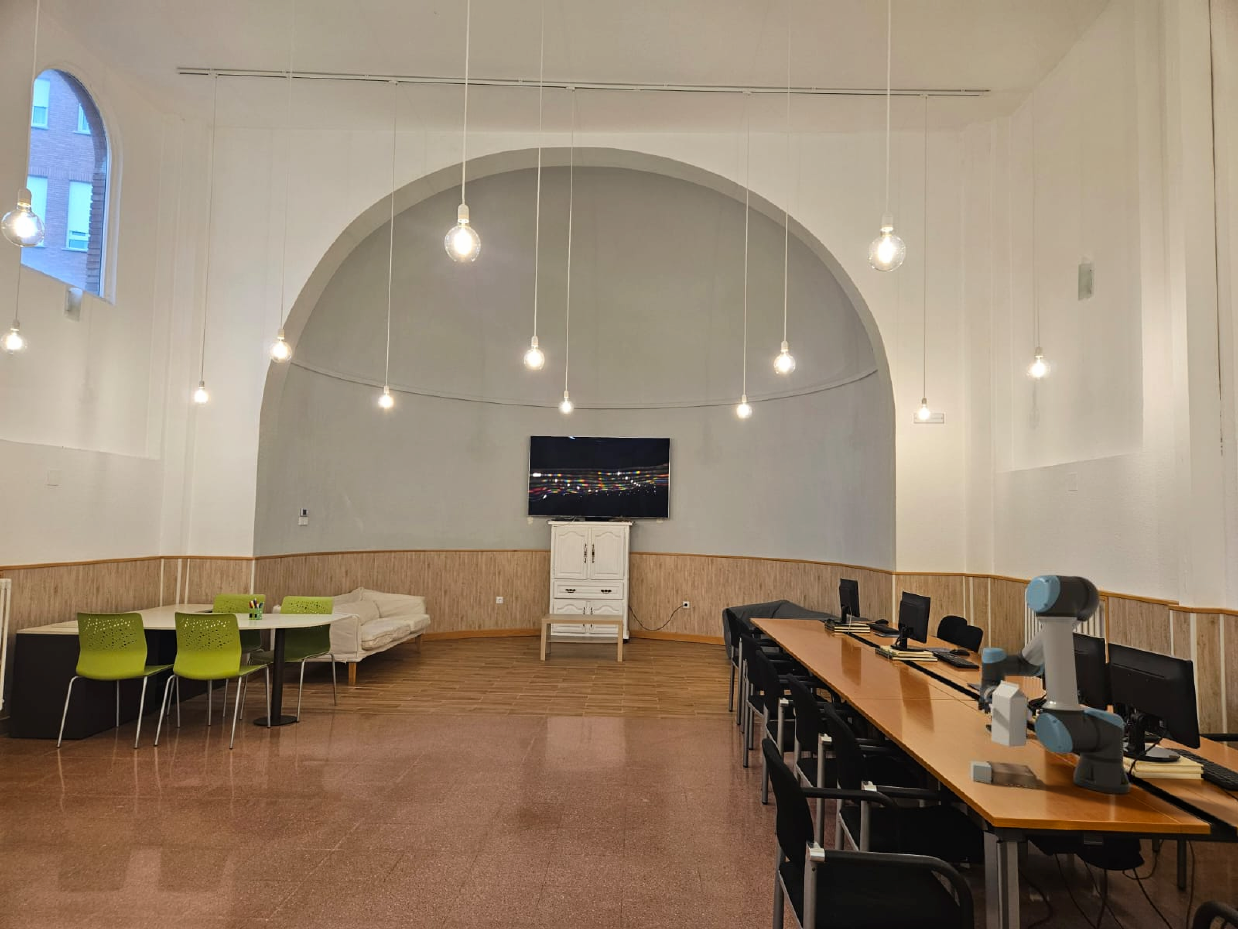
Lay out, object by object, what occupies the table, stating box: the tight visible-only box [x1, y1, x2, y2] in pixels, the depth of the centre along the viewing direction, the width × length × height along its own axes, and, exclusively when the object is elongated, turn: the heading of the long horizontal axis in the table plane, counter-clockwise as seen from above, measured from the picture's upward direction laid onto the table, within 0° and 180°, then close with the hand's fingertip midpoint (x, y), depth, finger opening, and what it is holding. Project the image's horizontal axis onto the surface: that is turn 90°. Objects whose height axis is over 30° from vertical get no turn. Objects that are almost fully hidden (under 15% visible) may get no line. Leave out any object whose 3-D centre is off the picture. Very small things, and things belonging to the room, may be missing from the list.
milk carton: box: [990, 680, 1028, 748], centre depth 261 cm, size 7×7×19 cm
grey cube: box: [969, 760, 992, 784], centre depth 257 cm, size 5×5×5 cm
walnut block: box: [985, 760, 1037, 788], centre depth 259 cm, size 12×12×4 cm
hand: (1012, 714), depth 257 cm, fingers closed on milk carton, 10 cm apart
